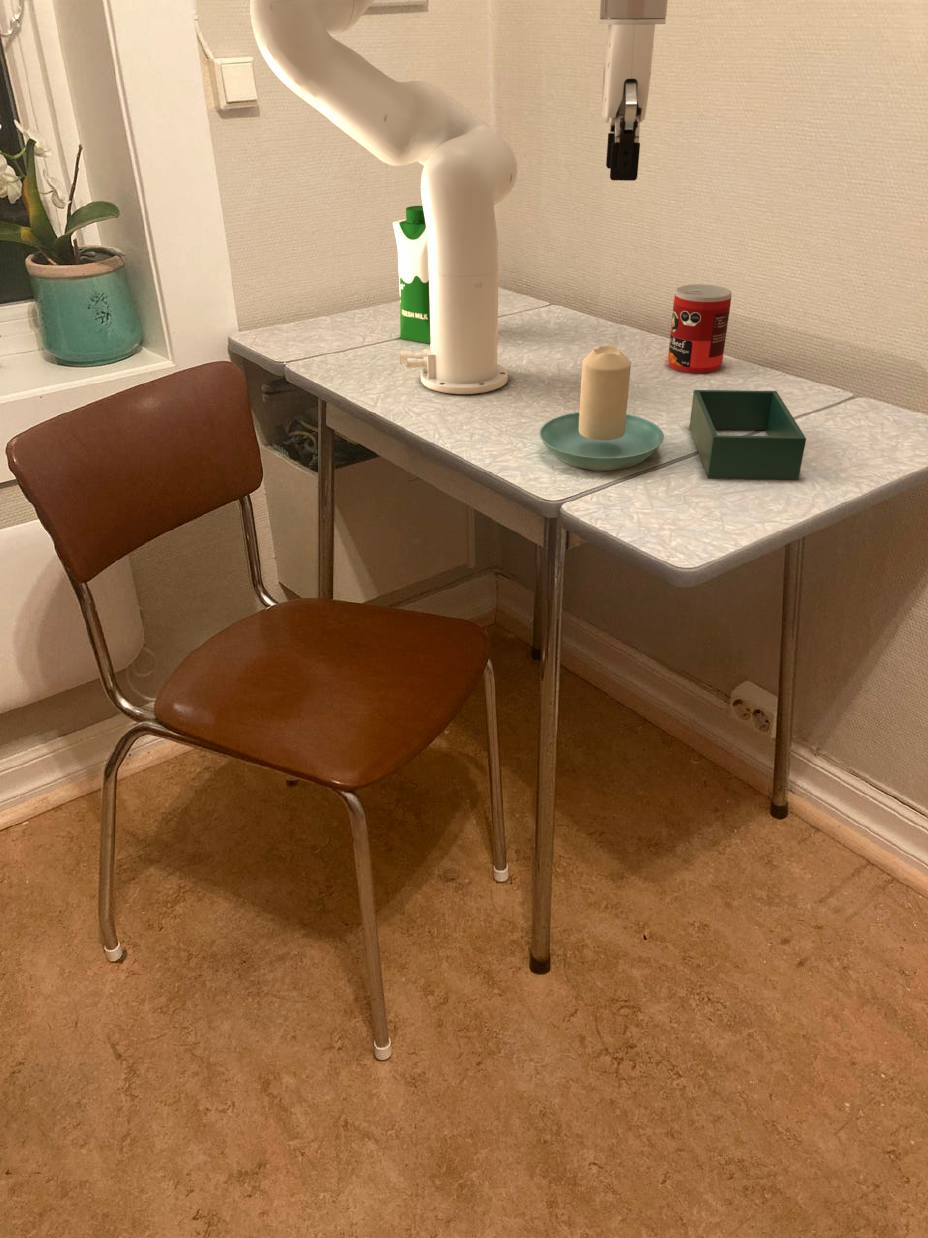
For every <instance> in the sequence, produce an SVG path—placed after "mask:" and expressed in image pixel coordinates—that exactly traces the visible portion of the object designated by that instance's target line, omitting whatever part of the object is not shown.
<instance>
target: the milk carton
mask: <svg viewBox="0 0 928 1238" xmlns="http://www.w3.org/2000/svg"><path fill="white" fill-rule="evenodd" d="M392 227H393V231H394V237H395V242H396V247H397V261H398V263H397V264H398V283H399V284H398V286H399V308H400V309H399V318H400V319H399V321H400V322H399V323H400V324H399V325H400V326H399V327H400V331H399V332H400V337H399V339H403V340H407V341H412V342H419V343H422V344H423V343H424V344H429V345H430V344H431V333H430V297H429V270H428V246H427V232H426V223H425V217H424V211H423V205H412V206H407V207H405V218H403V219H400V220H395V221H393V222H392Z"/></svg>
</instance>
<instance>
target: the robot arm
mask: <svg viewBox="0 0 928 1238" xmlns="http://www.w3.org/2000/svg"><path fill="white" fill-rule="evenodd" d="M374 1H375V0H250V1H249V13H250V14H249V15H250V22H251V27H252V32H253V35H254V39H255V41H256V44H257V47H258V49H259V51H260V54H261V56H262V57H263V59H264V61H265V63H266V64H267V65H268V67H269V68H270V69H271V71H272V72H273V73H274V74H275V76H276V77H277V78H278V79H279V81H281V82H282V83H283V84H284V85H285V86H286V87H287V88H288V89H290V90H291V91H292V92H293V93H294V94H296V95H297V97H299V98H300V99H302V100H303V101H304V102H306V103H307V104H309V105H310V106H311V107H312V108H314V109H315V110H316V111H318V112H319V113H320V114H322V115H323V116H324V117H326V118H327V119H328V120H329V121H330V122H331V123H332V124H334V126H336V127H337V128H339V129H340V130H341V131H343V132H344V133H345V134H346V135H347V136H349V137H350V138H351V139H353V140H354V141H355V142H357V143H358V145H360V146H362V147H363V148H365V150H367V151H368V152H369V153H370V154H372V155H374V157H376V158H377V159H378V160H380V161H381V162H383V163H384V164H386V165H389V166H391V167H392V166H393V167H404V166H408V165H411V164H413V163H416V162H418V163H419V164H420V165H422V167H423V168H422V171H421V177H420V197H421V204H422V205H421V206H423V211H424V217H425V223H426V232H427V246H428V270H429V297H430V333H431V344H429V347H428V348H423V349H422V351H414V350H401V351H400V355H399V356H400V358H399V359H400V360H399V361H400V365H406V368H407V369H422V370H421V372H420V382H421V384H422V385H423V386H424V387H426V388H428V389H430V390H432V391H435V392H439V393H444V394H450V395H451V394H452V395H473V394H483V393H488V392H491V391H495V390H498V389H500V388H502V387H503V386H505V385H506V384H507V383H508V381H509V371H508V369H506V368H505V367H503V366H502V365H500V364H498V360H499V359H498V354H499V352H498V346H499V345H498V344H499V340H498V339H499V337H498V336H499V330H498V329H499V240H498V230H497V229H498V228H497V221H496V213H495V206H496V205H497V204H499V203H501V202H502V201H503V200H505V198H506V197H508V195H509V194H510V193H511V192H512V190H513V188H514V186H515V184H516V181H517V177H518V175H517V174H518V162H517V158H516V155H515V152H514V150H513V148H512V146H511V145H510V144H509V142H508V141H507V140H506V139H505V138H504V137H503V136H502V134H500V133H499V132H498V131H496V130H495V129H494V128H493V127H492V126H491V125H489V124H488V123H486V122H485V121H484V120H483V119H482V118H480V117H479V116H477V115H476V114H475V113H474V112H473V111H471V110H470V109H469V108H467V107H466V106H464V105H463V104H462V103H461V102H459V101H458V100H456V99H455V98H454V97H453V96H452V95H450V94H449V93H448V92H446V91H445V90H443V89H442V88H440V87H438V86H436V85H434V84H431V83H430V82H427V81H421V80H410V81H404V82H403V81H397V80H395V79H393V78H391V77H390V76H388V75H387V74H386V73H384V72H382V71H381V70H379V68H377V67H375V66H374V65H373V64H372V63H370V62H369V61H368V59H366V58H365V57H363V56H362V55H361V54H360V53H358V52H356V51H355V50H354V49H352V48H350V47H349V46H347V45H346V44H343V43H342V42H340V41H339V40H337V39H336V38H335V37H338V36H339V37H340V36H341V35H343V34H345V33H347V32H348V31H349V30H351V28H352V27H353V26H355V24H356V23H357V22H358V21H359V20H360V19H361V17H362V16H363V15H364V14H365V12H366V11H367V10H368V9H369V8H370V6H371V5H372V4H373V3H374ZM668 1H669V0H600V2H599V3H600V6H599V20H598V21H599V22H598V25H606V26H607V25H608V27H607V34H606V42H605V52H604V61H603V62H604V63H603V77H602V91H601V107H600V116H601V119H602V120H603V122H604V123H606V124H608V123H609V122H610V124H609V132H608V134H607V145H606V162H605V166H606V168H607V169H609V179H610V180H611V181H626V182H628V181H630V182H631V181H632V182H633V181H636V180H637V179H638V175H639V173H638V172H639V163H640V162H639V161H640V152H641V151H640V150H641V142H640V129H641V128H640V127H641V126H640V123H642V122H643V121H644V120H645V119H646V114H647V107H648V100H649V92H650V84H651V74H652V64H653V52H654V42H655V41H654V40H655V28H656V25H667V24H666V22H667V13H668Z"/></svg>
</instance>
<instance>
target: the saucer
mask: <svg viewBox="0 0 928 1238" xmlns="http://www.w3.org/2000/svg"><path fill="white" fill-rule="evenodd" d="M579 412H580V411H578V412H577V411H576V412H570V413H566V414H563V415H559V416H556V417H554V418H551V419H549V420H548V421H546V422H545V423H544V424H542V426H541V427H540V429H539V432H538V433H539V434H538V435H539V437H540V439H541V441H542V444H544V445H545V447H546V448H547V450H549V451H550V452H551V453H552V455H554V457H556V458H558V459H559V460H560V461H562V462H563V463H564V464H567V465H570V466H572V467H575V468H579V469H583V470H590V471H603V472H604V471H605V472H606V471H618V470H624V469H628V468H632V467H634V466H636V465H638V464H640V463H641V462H643V461H644V460H646V459H647V458H649V457H650V456H651V455H652V454H654V453H655V452H656V451H657V449H658V448H659V447H660V446H661V445H662V443H663V442H664V440H665V435H664V432H663V431H662V429H661V428H660V426H658V425H656V424H655V423H654V422H651V421H649V420H647V419H645V418H643V417H640V416H636V415H634V414H630V413H627V414H626V425H625V432H624V435H623V436H622V437H620V438H618V439H614V440H593V439H589V438H586V437H584V436H582V435H581V434H580V433H579Z"/></svg>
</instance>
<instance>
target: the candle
mask: <svg viewBox="0 0 928 1238" xmlns="http://www.w3.org/2000/svg"><path fill="white" fill-rule="evenodd" d="M581 364H582V365H581V379H580V380H581V381H580V395H579V396H580V398H579V411H578V412H579V433H580V434H581V435H582V436H584V437H586V438H589V439H593V440H614V439H618V438H620V437H622V436H623V435H624V432H625V425H626V414H628V401H629V391H630V378H631V369H632V368H631V367H632V362H631V360H630V359H629V358H628V357H627V356H626V355H625V354H624V353H623V352H622V351H621V350H620V349H618V348H617V347H616V346H614V345H609V346H604V345H603V346H602V345H601V346H599V347H598V348H597V349H596V348H593V349H592V350H591V351H590V353H588V355H586V356H585V357H584V358H583V359H582V363H581Z"/></svg>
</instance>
